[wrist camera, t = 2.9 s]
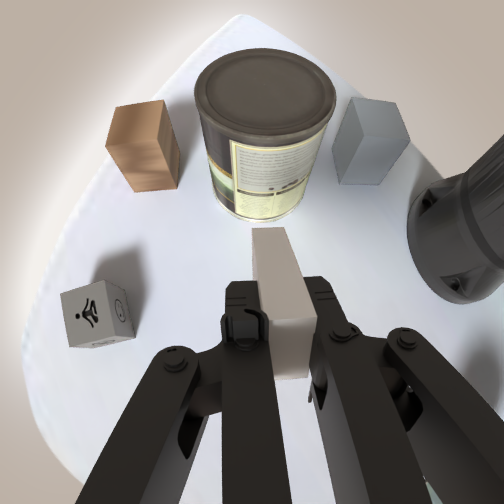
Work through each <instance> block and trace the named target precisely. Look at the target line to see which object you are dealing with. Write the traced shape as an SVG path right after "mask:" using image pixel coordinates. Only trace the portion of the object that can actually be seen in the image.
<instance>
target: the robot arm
mask: <svg viewBox="0 0 504 504" xmlns="http://www.w3.org/2000/svg"><path fill="white" fill-rule="evenodd" d="M407 234H408V243H409V248H410V252H411V255H412V258H413V261H414V263H415V265H416V267H417V269H418V271H419V273H420V275H421V276H422V278H423V279H424V281H425V282H426V283H427V285H428V286H429V287H430V288H431V289H432V290H433V291H434V292H435V293H436V294H437V295H439V296H440V297H441V298H443V299H445V300H447V301H449V302H452V303H455V304H469V303H473V302H476V301H480V300H482V299H484V298H486V297H488V296H489V295H491V294H492V293H493V292H494V291H495V290H496V289H497V288H498V287H499V286H500V285H501V284H502V283H503V282H504V135H503V136H502V137H501V138H500V139H499V140H498V141H497V142H496V143H495V144H494V145H493V146H492V147H491V148H490V149H489V150H488V151H487V152H486V153H485V154H484V155H483V156H482V157H481V158H480V159H479V160H478V161H477V162H475V163H474V164H473V165H472V166H471V167H470V168H469V169H468V170H467V171H466V172H465V173H462V174H459V175H455V176H453V177H450V178H446V179H443V180H440V181H437V182H435V183H433V184H431V185H430V186H429V187H427V188H426V189H425V190H424V191H423V192H422V193H421V194H420V195H419V196H418V197H417V199H416V200H415V201H414V203H413V205H412V207H411V210H410V213H409V217H408V225H407ZM252 266H253V281H231V283H230V284H229V285H228V287H227V288H226V294H225V314H224V315H223V316H222V318H221V321H220V323H221V333H222V341H221V342H220V343H219V344H218V345H217V346H215V347H214V348H212V349H210V350H207V351H204V352H200V353H195V352H194V351H193V350H192V349H190V348H187V347H184V346H171V347H167V348H165V349H163V350H161V351H159V352H158V353H157V354H156V356H155V357H154V358H153V360H152V361H151V363H150V365H149V367H148V368H147V370H146V372H145V374H144V376H143V377H142V379H141V381H140V383H139V384H138V386H137V388H136V390H135V392H134V393H133V395H132V397H131V399H130V401H129V402H128V404H127V406H126V408H125V410H124V411H123V413H122V415H121V417H120V419H119V421H118V422H117V424H116V426H115V428H114V430H113V432H112V433H111V435H110V437H109V439H108V441H107V443H106V445H105V446H104V448H103V450H102V452H101V454H100V456H99V458H98V460H97V462H96V464H95V465H94V467H93V469H92V471H91V473H90V475H89V477H88V479H87V481H86V483H85V485H84V487H83V489H82V491H81V493H80V495H79V497H78V499H77V501H76V503H75V504H179V501H180V498H181V495H182V493H183V490H184V487H185V484H186V481H187V478H188V476H189V473H190V470H191V467H192V464H193V461H194V458H195V456H196V453H197V450H198V447H199V444H200V441H201V438H202V435H203V432H204V430H205V427H206V424H207V421H208V418H209V415H212V414H215V413H218V412H222V503H223V504H292V499H291V492H290V485H289V478H288V471H287V464H286V457H285V450H284V443H283V436H282V429H281V422H280V415H279V408H278V402H277V395H276V388H275V381H274V380H286V379H297V378H307V377H308V373H309V368H310V372H311V376H312V381H311V386H310V391H309V396H308V403H310V402H311V401H312V397H313V402H314V406H315V410H316V414H317V419H318V423H319V428H320V432H321V436H322V441H323V445H324V450H325V454H326V459H327V463H328V468H329V472H330V477H331V482H332V486H333V491H334V496H335V501H336V504H433V503H432V500H431V497H430V494H429V491H428V488H427V485H426V483H425V480H424V477H425V479H426V480H427V482H428V483H429V484H430V486H431V487H432V489H433V490H434V492H435V493H436V494H437V496H438V497H439V499H440V500H441V502H442V503H443V504H504V421H503V420H502V419H501V418H500V417H499V416H498V415H497V413H496V412H495V411H494V410H493V409H492V408H491V407H490V406H489V404H488V403H487V402H486V401H485V400H484V399H483V398H482V397H481V396H480V395H479V394H478V392H477V391H476V390H475V389H474V388H473V387H472V386H471V385H470V384H469V383H468V382H467V381H466V380H465V379H464V377H463V376H462V375H461V374H460V373H459V372H458V371H457V370H456V369H455V368H454V367H453V366H452V365H451V364H450V363H449V362H448V361H447V360H446V359H445V358H444V357H443V356H442V355H441V354H440V353H439V352H438V351H437V350H436V349H435V348H434V347H433V346H432V345H431V344H430V343H429V342H428V341H427V340H426V339H425V338H424V337H423V336H422V335H421V334H420V333H418V332H417V331H416V330H413V329H410V328H404V327H400V328H395V329H394V330H392V331H390V333H389V335H388V336H387V339H386V338H377V337H369V336H365V335H363V334H362V332H361V331H360V329H359V328H358V327H357V326H355V325H354V324H352V323H349V322H348V321H347V319H346V316H345V314H344V312H343V310H342V308H341V306H340V304H339V301H338V299H337V297H336V295H335V293H334V292H333V289H332V287H331V285H330V283H329V282H328V281H327V280H325V279H324V278H323V277H322V276H314V277H303V276H302V273H301V271H300V268H299V265H298V263H297V260H296V257H295V255H294V252H293V250H292V247H291V244H290V242H289V239H288V236H287V234H286V231H285V229H284V227H273V228H252ZM408 385H409V386H410V387H411V388H410V387H409V386H408ZM423 476H424V477H423Z"/></svg>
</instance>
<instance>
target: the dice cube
mask: <svg viewBox="0 0 504 504" xmlns="http://www.w3.org/2000/svg"><path fill="white" fill-rule="evenodd" d="M60 296H61V303H62V309H63V316H64V321H65V327H66V332H67V337H68V342H69V347H77V348H97V347H101V346H105V345H110V344H114V343H118V342H122V341H126V340H130V339H134V338H135V334H134V330H133V326H132V322H131V317H130V313H129V309H128V304H127V299H126V295H125V290H123V289H121V288H119V287H117V286H116V285H114V284H112V283H110V282H108V281H106V280H102V281H98V282H95V283H92V284H89V285H86V286H83V287H79V288H76V289H73V290H70V291H67V292H64V293H61V294H60Z"/></svg>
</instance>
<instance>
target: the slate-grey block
mask: <svg viewBox="0 0 504 504" xmlns="http://www.w3.org/2000/svg"><path fill="white" fill-rule="evenodd" d="M409 142H410V137H409V135H408V132H407V130H406V127H405V125H404V122H403V120H402V117H401V115H400V113H399V110H398V108H397V106H396V103H392V102H386V101H379V100H371V99H363V98H354V97H352V98H351V100H350V103H349V105H348V108H347V111H346V113H345V116H344V119H343V121H342V124H341V126H340V129H339V132H338V134H337V137H336V139H335V142H334V144H333V147H332V152H333V156H334V161H335V165H336V170H337V175H338V180H339V184H360V185H379V184H380V182H381V181H382V180H383V178H384V177H385V176H386V174H387V173H388V171H389V170H390V169H391V167H392V166H393V164H394V163H395V162H396V160H397V159H398V158H399V156H400V155H401V153H402V152H403V150H404V149H405V148H406V146H407V145H408V143H409Z"/></svg>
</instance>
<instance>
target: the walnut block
mask: <svg viewBox="0 0 504 504" xmlns="http://www.w3.org/2000/svg"><path fill="white" fill-rule="evenodd" d="M105 147H106V149H107V150H108V152H109V154H110V155H111V157H112V158H113V160H114V161H115V163H116V165H117V166H118V168H119V169H120V171H121V172H122V174H123V175H124V177H125V179H126V180H127V182H128V183H129V185H130V186H131V188H132V189H133V191H134V192H135V193H136V192H146V191H158V190H171V189H177V182H178V169H179V157H180V151H179V148H178V145H177V142H176V138H175V135H174V132H173V129H172V125H171V122H170V119H169V115H168V112H167V109H166V105H165V102H164V100H157V101H150V102H143V103H137V104H131V105H126V106H120V107H116V109H115V112H114V116H113V119H112V123H111V126H110V130H109V133H108V137H107V141H106V145H105Z"/></svg>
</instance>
